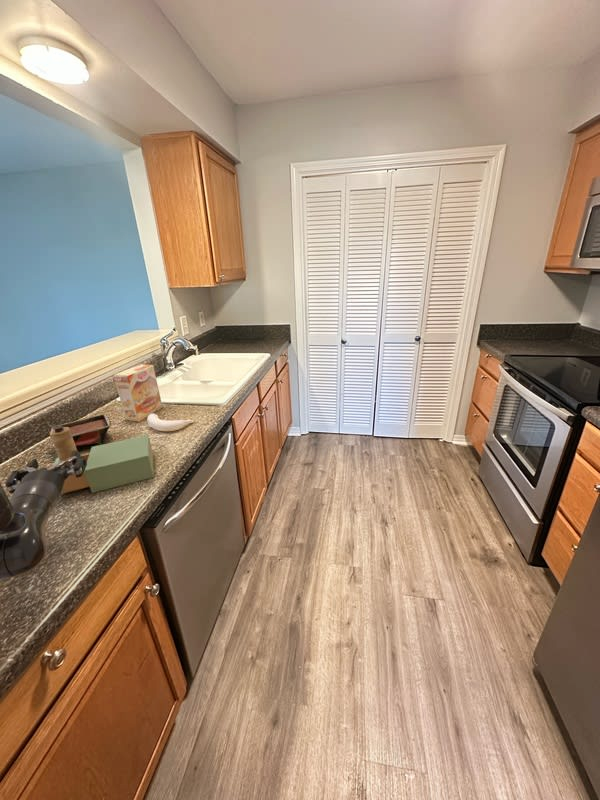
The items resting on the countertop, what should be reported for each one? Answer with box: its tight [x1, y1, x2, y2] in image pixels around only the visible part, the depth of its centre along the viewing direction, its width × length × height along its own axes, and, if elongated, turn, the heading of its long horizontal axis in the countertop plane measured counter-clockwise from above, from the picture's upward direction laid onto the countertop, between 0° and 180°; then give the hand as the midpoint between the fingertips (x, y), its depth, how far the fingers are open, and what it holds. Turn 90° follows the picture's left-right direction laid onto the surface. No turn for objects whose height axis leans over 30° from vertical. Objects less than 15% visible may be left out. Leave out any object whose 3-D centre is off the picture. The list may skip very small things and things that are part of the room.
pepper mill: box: [49, 425, 79, 468], centre depth 89 cm, size 4×4×16 cm
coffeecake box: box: [113, 364, 163, 422], centre depth 134 cm, size 15×7×20 cm, turn 164°
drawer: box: [52, 452, 90, 494], centre depth 91 cm, size 18×13×5 cm
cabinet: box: [84, 434, 155, 494], centre depth 96 cm, size 16×14×7 cm
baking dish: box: [49, 413, 112, 447], centre depth 114 cm, size 14×18×10 cm
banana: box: [146, 413, 195, 432], centre depth 126 cm, size 5×19×15 cm
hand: (56, 457), depth 80 cm, fingers open, 8 cm apart
